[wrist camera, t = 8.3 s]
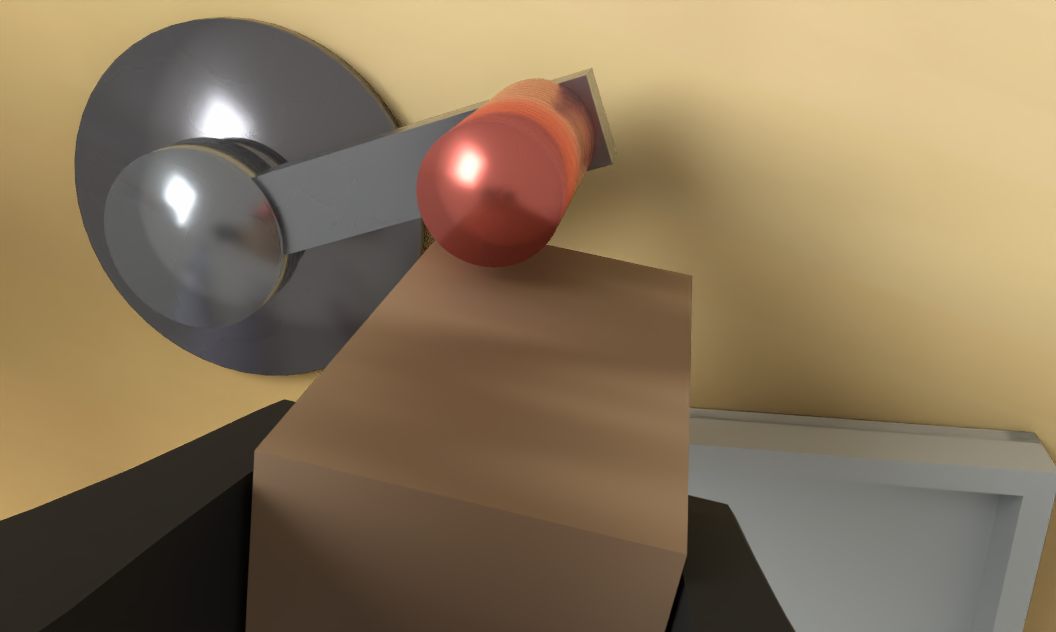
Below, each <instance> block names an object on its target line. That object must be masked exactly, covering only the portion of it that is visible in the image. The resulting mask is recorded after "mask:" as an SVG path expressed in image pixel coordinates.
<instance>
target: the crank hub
mask: <svg viewBox="0 0 1056 632" xmlns="http://www.w3.org/2000/svg"><path fill="white" fill-rule="evenodd" d="M397 128H399V126H398V124H397V122H396V120H395V118H394V117H393V115H392V114H391V112H390V111H389V110H388V108H387V107H386V105H385V104H384V102H383V101H382V99H381V98H380V97H379V96H378V94H377V93H376V92H375V91H374V90H373V89H372V88H371V87H370V85H369V84H368V83H367V82H366V81H365V80H364V79H363V77H361V76H360V75H359V74H358V73H357V72H356V71H355V70H354V69H352V68H351V67H350V66H349V65H348V64H347V63H346V62H345V61H343V60H342V59H341V58H339V57H338V56H337V55H335V54H334V53H332V52H331V51H329V50H328V49H326V48H325V47H324V46H322V45H320V44H319V43H317V42H315V41H313V40H311V39H309V38H307V37H305V36H303V35H301V34H299V33H297V32H294V31H292V30H289V29H286V28H284V27H281V26H278V25H275V24H272V23H267V22H262V21H258V20H253V19H246V18H233V17H219V18H205V19H198V20H193V21H188V22H184V23H180V24H175V25H171V26H169V27H166V28H164V29H162V30H159V31H157V32H154V33H152V34H150V35H148V36H147V37H145V38H143V39H142V40H140V41H138V42H137V43H135V44H133V45H132V46H131V47H130V48H129V49H127V50H126V51H125V52H124V53H123V54H122V55H120V56H119V57H118V58H117V59H116V60H115V61H114V62H113V63H112V65H111V66H110V67H109V68H108V69H107V71H106V72H105V73H104V74H103V75H102V77H101V78H100V80H99V82H98V83H97V85H96V87H95V88H94V90H93V92H92V93H91V95H90V98H89V100H88V103H87V105H86V107H85V110H84V112H83V115H82V119H81V123H80V127H79V131H78V135H77V141H76V150H75V184H76V191H77V198H78V205H79V208H80V212H81V216H82V220H83V224H84V227H85V230H86V232H87V235H88V237H89V240H90V243H91V245H92V248H93V250H94V252H95V254H96V255H97V257H98V259H99V261H100V263H101V265H102V267H103V269H104V270H105V272H106V274H107V275H108V277H109V278H110V280H111V281H112V283H113V284H114V286H115V287H116V289H117V290H118V291H119V292H120V294H121V295H122V296H123V297H124V298H125V300H126V301H127V302H128V303H129V305H130V306H131V307H132V308H133V309H134V310H135V311H136V312H137V313H138V314H139V315H140V316H141V317H142V318H143V319H144V320H145V321H146V322H147V323H148V324H150V325H151V326H152V327H153V328H154V329H156V330H157V331H158V332H159V333H161V334H162V335H163V336H164V337H166V338H167V339H169V340H170V341H172V342H173V343H175V344H176V345H178V346H179V347H181V348H182V349H184V350H186V351H188V352H190V353H192V354H194V355H196V356H198V357H200V358H202V359H204V360H206V361H209V362H212V363H214V364H217V365H219V366H222V367H225V368H229V369H233V370H237V371H241V372H245V373H252V374H260V375H294V374H302V373H308V372H312V371H316V370H320V369H324V368H326V367H327V365H328V364H329V363H330V362H331V361H332V360H333V358H334V357H335V356H336V355H337V354H338V353H339V351H340V350H341V349H342V348H343V347H344V346H345V344H346V343H347V342H348V341H349V340H350V339H351V337H352V336H353V335H354V334H355V333H356V332H357V330H358V329H359V328H360V327H361V326H362V325H363V323H364V322H365V321H366V320H367V319H368V318H369V316H370V315H371V314H372V313H373V312H374V311H375V309H376V308H377V307H378V306H379V305H380V304H381V302H382V301H383V300H384V299H385V298H386V297H387V295H388V294H389V293H390V292H391V291H392V290H393V289H394V287H395V286H396V285H397V284H398V283H399V282H400V280H401V279H402V278H403V277H404V276H405V275H406V273H407V272H408V271H409V270H410V269H411V268H412V266H413V265H414V264H415V263H416V262H417V261H418V259H419V258H420V257H421V256H422V251H423V244H424V237H425V224H424V221H423V219H422V217H420V218H417V219H413V220H410V221H406V222H402V223H399V224H395V225H392V226H388V227H384V228H381V229H377V230H374V231H370V232H366V233H363V234H359V235H356V236H352V237H349V238H345V239H341V240H338V241H334V242H331V243H327V244H323V245H320V246H316V247H313V248H309V249H305V250H302V251H301V254H300V259H299V262H298V265H297V268H296V270H295V272H294V274H293V276H292V277H291V279H290V280H289V281H288V283H287V284H286V285H285V286H284V287H283V288H282V289H281V290H280V291H279V292H278V293H277V294H276V295H275V296H273V297H272V298H271V299H270V300H269V301H267V302H266V303H265V304H264V305H263V306H261V307H260V308H259V309H258V310H257V311H255V312H254V313H253V314H251V315H250V316H249V317H247V318H245V319H243V320H242V321H240V322H238V323H235V324H232V325H229V326H224V327H218V328H202V327H194V326H189V325H185V324H182V323H179V322H176V321H173V320H171V319H169V318H167V317H165V316H163V315H161V314H160V313H158V312H157V311H155V310H153V309H152V308H151V307H149V306H148V305H147V304H145V303H144V302H143V301H142V300H141V299H140V298H139V297H138V296H137V295H136V294H135V293H134V292H133V291H132V290H131V289H130V287H129V286H128V285H127V284H126V282H125V281H124V279H123V278H122V277H121V275H120V273H119V272H118V270H117V268H116V266H115V264H114V262H113V260H112V257H111V255H110V252H109V249H108V246H107V242H106V237H105V231H104V211H105V205H106V200H107V196H108V194H109V191H110V188H111V186H112V184H113V183H114V181H115V179H116V178H117V176H118V175H119V174H120V173H121V171H122V170H123V169H124V168H125V167H126V166H128V165H129V164H130V163H131V162H133V161H134V160H136V159H137V158H139V157H141V156H143V155H146V154H148V153H151V152H153V151H156V150H158V149H161V148H163V147H166V146H168V145H171V144H174V143H176V142H179V141H181V140H185V139H189V138H197V137H211V138H218V139H223V140H227V141H230V142H233V143H236V144H238V145H240V146H242V147H245V148H247V149H248V150H250V151H251V152H253V153H255V154H256V155H258V156H259V157H260V158H261V159H263V160H264V161H265V162H266V163H267V164H268V165H269V166H270V167H274V166H278V165H281V164H284V163H287V162H290V161H294V160H297V159H300V158H303V157H307V156H310V155H313V154H316V153H319V152H323V151H326V150H329V149H332V148H336V147H339V146H342V145H345V144H348V143H352V142H355V141H358V140H361V139H365V138H368V137H371V136H374V135H377V134H381V133H384V132H387V131H390V130H394V129H397Z"/></svg>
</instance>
